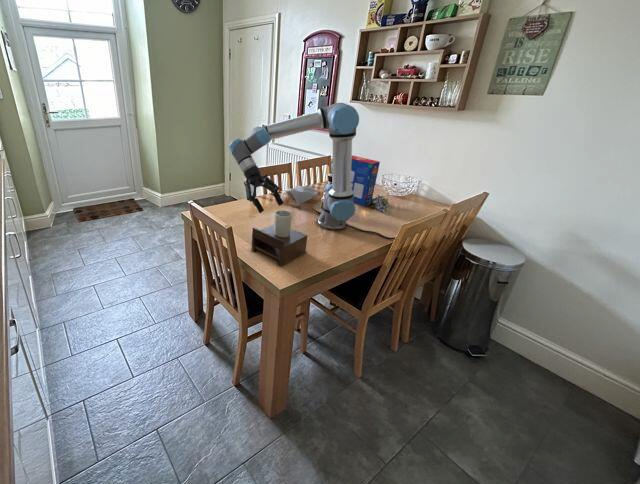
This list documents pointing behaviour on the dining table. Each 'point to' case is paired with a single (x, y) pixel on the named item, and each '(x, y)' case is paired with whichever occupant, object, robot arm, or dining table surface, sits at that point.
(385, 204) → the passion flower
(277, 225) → the cup
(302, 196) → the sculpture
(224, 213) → the dining table surface
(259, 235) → the shelf
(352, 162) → the pasta box
